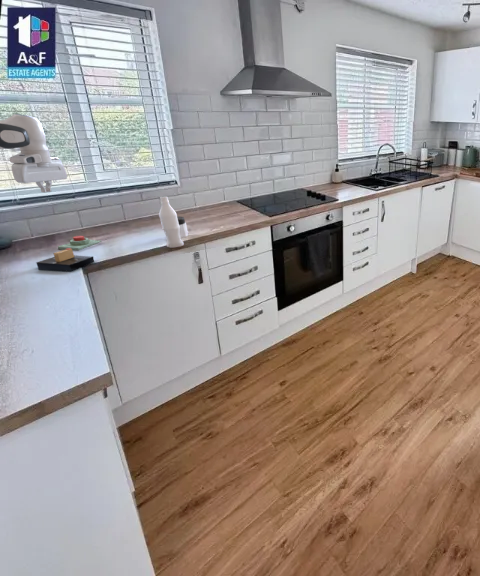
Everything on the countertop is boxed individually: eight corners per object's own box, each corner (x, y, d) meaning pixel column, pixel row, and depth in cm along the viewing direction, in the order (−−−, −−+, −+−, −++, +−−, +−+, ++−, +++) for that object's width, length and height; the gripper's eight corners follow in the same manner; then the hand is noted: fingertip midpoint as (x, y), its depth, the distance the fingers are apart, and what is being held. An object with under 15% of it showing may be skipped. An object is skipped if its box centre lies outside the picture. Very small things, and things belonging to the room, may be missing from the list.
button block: (59, 251, 167) (56, 242, 165) (83, 243, 179) (81, 235, 177) (79, 252, 166) (77, 244, 164) (102, 245, 178) (100, 236, 176)
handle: (60, 261, 145) (57, 252, 143) (55, 261, 145) (53, 252, 144) (74, 257, 151) (72, 248, 149) (70, 256, 151) (67, 248, 150)
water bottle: (171, 253, 170) (157, 199, 159) (165, 250, 174) (152, 197, 164) (187, 250, 175) (175, 197, 164) (181, 246, 179) (169, 194, 168)
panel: (38, 269, 144) (36, 262, 143) (63, 261, 155) (61, 254, 153) (71, 272, 143) (69, 264, 142) (94, 263, 154) (92, 256, 152)
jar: (174, 239, 191) (169, 216, 186) (191, 238, 193) (186, 215, 188) (168, 244, 183) (162, 221, 178) (186, 243, 185) (180, 220, 180)
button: (71, 241, 169) (70, 237, 169) (79, 239, 173) (78, 235, 172) (79, 241, 169) (78, 238, 168) (87, 239, 173) (86, 236, 172)
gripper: (53, 156, 162) (61, 188, 167) (4, 158, 143) (15, 194, 148) (66, 157, 162) (74, 189, 167) (19, 159, 143) (30, 195, 148)
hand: (46, 192), depth 157 cm, fingers closed
